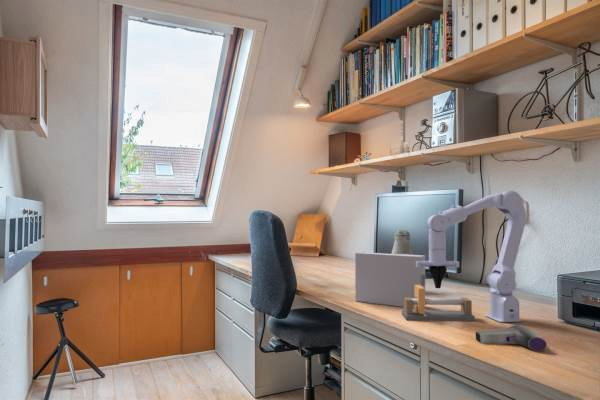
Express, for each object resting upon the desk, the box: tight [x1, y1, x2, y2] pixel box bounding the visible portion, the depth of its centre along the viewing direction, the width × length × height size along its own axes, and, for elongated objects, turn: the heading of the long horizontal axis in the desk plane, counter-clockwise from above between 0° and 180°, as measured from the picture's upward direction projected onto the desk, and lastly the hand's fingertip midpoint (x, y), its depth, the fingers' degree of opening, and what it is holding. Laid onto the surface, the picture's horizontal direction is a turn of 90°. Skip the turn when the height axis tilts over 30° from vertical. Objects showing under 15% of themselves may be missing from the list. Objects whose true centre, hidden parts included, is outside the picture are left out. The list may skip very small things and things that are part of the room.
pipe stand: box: [401, 297, 476, 322], centre depth 151 cm, size 23×8×7 cm, turn 87°
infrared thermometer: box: [475, 324, 548, 352], centre depth 120 cm, size 5×12×15 cm
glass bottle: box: [391, 229, 413, 255], centre depth 201 cm, size 10×10×28 cm
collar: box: [414, 285, 426, 314], centre depth 151 cm, size 2×7×9 cm, turn 177°
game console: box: [354, 251, 426, 309], centre depth 173 cm, size 6×27×20 cm, turn 59°
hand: (437, 287), depth 151 cm, fingers closed
